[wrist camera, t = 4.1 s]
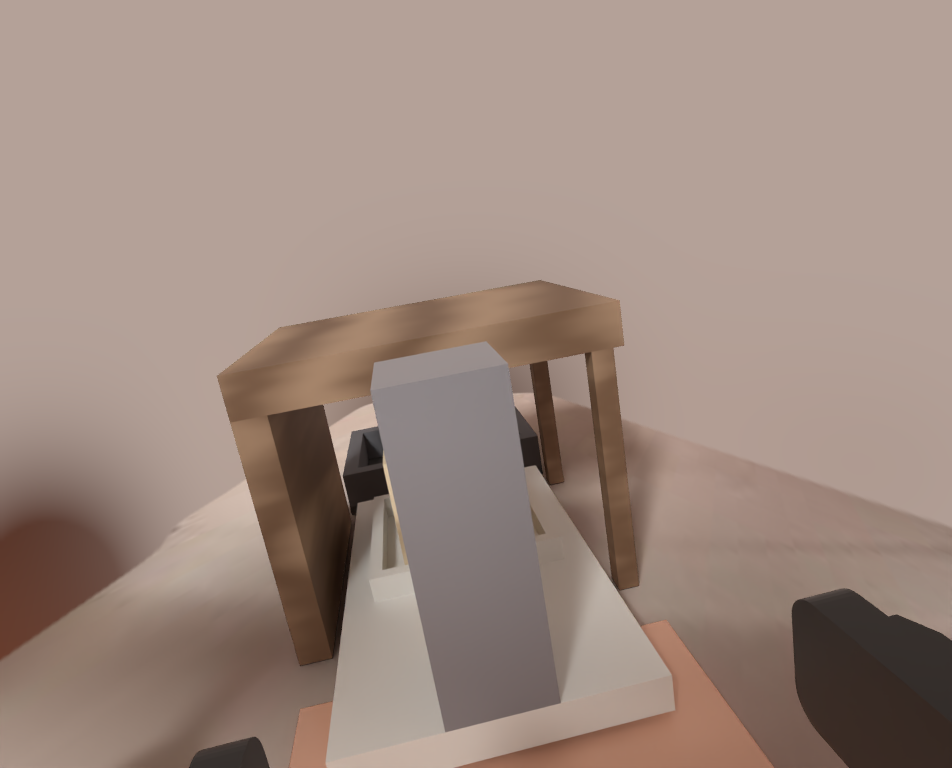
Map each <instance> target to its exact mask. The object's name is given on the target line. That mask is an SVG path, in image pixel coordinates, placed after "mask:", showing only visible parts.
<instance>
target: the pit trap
mask: <svg viewBox="0 0 952 768" xmlns="http://www.w3.org/2000/svg"><path fill="white" fill-rule="evenodd" d="M515 412H516V419H517V425H518V431H519V438H520V444H521V451H522V457H523V464H524V468H525V467H529V466H534V465H536V467H537V468H538V470H539V471H540V473H541V474H543V471H542V464H541V457H540V450H539V444H538V437H537V435H536V433H535V432H534V431H533V429H532V428H531V427H530V425H529V424H528V423H527V421H526V420H525V419H524V417H523V416H522V415H521V413H520V412H519V411H518V410H517V408H516V407H515ZM343 478H344V483H345V487H346V491H347V495H348V499H349V503H350V507H351V512H352V515H354V514H356V513H357V505H358V503H360V502H365V501H370V500H374V497H377V496H382V495H387V494H389V491H388V486H387V482H386V477H385V473H384V468H383V446H382V441H381V437H380V432H379V428H378V427H373V428H368V429H363V430H358V431H353V432H352V434H351V439H350V444H349V449H348V454H347V458H346V463H345V468H344V473H343Z"/></svg>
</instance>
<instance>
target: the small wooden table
mask: <svg viewBox="0 0 952 768" xmlns="http://www.w3.org/2000/svg"><path fill="white" fill-rule="evenodd" d="M485 341H487V343H488V344H489V345H490V346H491V347H492V348H493V349H494V350H495V351H496V352H497V353H498V354H499V355H500V356H501V357H502V358H503V359H504V360H505V361H506V362H507V363H508V367H509V368H512V367H517V366H522V365H527V364H530V370H531V377H532V383H533V390H534V397H535V404H536V411H537V418H538V425H539V432H540V438H541V445H542V452H543V459H544V466H545V473H546V479H547V481H548V482H549V484H550V485H551V484H556V483H560V482H564V479H563V472H562V465H561V457H560V450H559V443H558V436H557V428H556V421H555V414H554V407H553V400H552V393H551V385H550V378H549V371H548V363H547V361H548V360H553V359H558V358H563V357H568V356H573V355H578V354H583V353H585V358H586V367H587V376H588V384H589V392H590V400H591V409H592V417H593V425H594V434H595V442H596V450H597V458H598V467H599V475H600V483H601V491H602V500H603V508H604V516H605V524H606V533H607V541H608V549H609V558H610V566H611V574H612V579H613V581H614V583H615V584H616V586H617V587H618V589H619V590H622V589H626V588H630V587H635V586H639V581H638V572H637V563H636V553H635V544H634V535H633V526H632V516H631V507H630V498H629V488H628V479H627V470H626V461H625V451H624V442H623V433H622V424H621V415H620V405H619V396H618V387H617V377H616V368H615V359H614V350H613V348H614V347H619V346H624V339H623V329H622V320H621V311H620V301H619V300H616V299H612V298H608V297H604V296H600V295H596V294H592V293H588V292H585V291H581V290H577V289H573V288H569V287H565V286H561V285H557V284H553V283H549V282H545V281H541V280H538V281H533V282H527V283H522V284H517V285H511V286H505V287H500V288H494V289H489V290H483V291H478V292H472V293H467V294H462V295H456V296H450V297H445V298H439V299H434V300H428V301H423V302H417V303H412V304H406V305H401V306H395V307H390V308H384V309H379V310H373V311H368V312H362V313H357V314H351V315H346V316H340V317H335V318H329V319H324V320H318V321H313V322H307V323H302V324H296V325H291V326H286V327H280V328H278V329H277V330H276V331H274V332H273V333H272V334H271V335H270V336H268V337H267V338H266V339H264V340H263V341H262V342H260V343H259V344H258V345H256V346H255V347H254V348H252V349H251V350H250V351H249V352H247V353H246V354H245V355H243V356H242V357H241V358H240V359H238V360H237V361H236V362H234V363H233V364H232V365H231V366H229V367H228V368H227V369H225V370H224V371H223V372H221V373H220V374H219V375H218V376H217V378H218V382H219V385H220V389H221V392H222V396H223V399H224V403H225V406H226V409H227V413H228V417H229V420H230V424H231V427H232V431H233V434H234V437H235V441H236V445H237V448H238V452H239V455H240V458H241V462H242V466H243V469H244V473H245V476H246V479H247V483H248V486H249V490H250V493H251V497H252V500H253V504H254V507H255V511H256V514H257V518H258V521H259V525H260V528H261V532H262V535H263V539H264V542H265V546H266V549H267V553H268V556H269V560H270V563H271V567H272V570H273V574H274V577H275V581H276V584H277V588H278V591H279V595H280V598H281V602H282V605H283V609H284V612H285V616H286V619H287V623H288V626H289V630H290V633H291V637H292V640H293V644H294V647H295V651H296V654H297V657H298V661H299V664H300V666H301V665H305V664H310V663H314V662H318V661H322V660H326V659H331V658H332V657H333V650H334V642H335V635H336V628H337V621H338V614H339V606H340V599H341V592H342V585H343V578H344V571H345V563H346V556H347V549H348V542H349V535H350V527H351V518H350V513H349V509H348V505H347V501H346V497H345V493H344V489H343V485H342V480H341V476H340V472H339V468H338V464H337V460H336V456H335V452H334V447H333V443H332V439H331V435H330V431H329V427H328V423H327V419H326V415H325V410H324V406H323V404H328V403H333V402H338V401H343V400H348V399H353V398H359V397H363V396H368V395H371V391H370V389H371V382H372V374H373V367H374V363H375V362H380V361H385V360H391V359H396V358H401V357H406V356H412V355H417V354H422V353H427V352H433V351H438V350H443V349H448V348H454V347H459V346H464V345H469V344H475V343H480V342H485Z"/></svg>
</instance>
